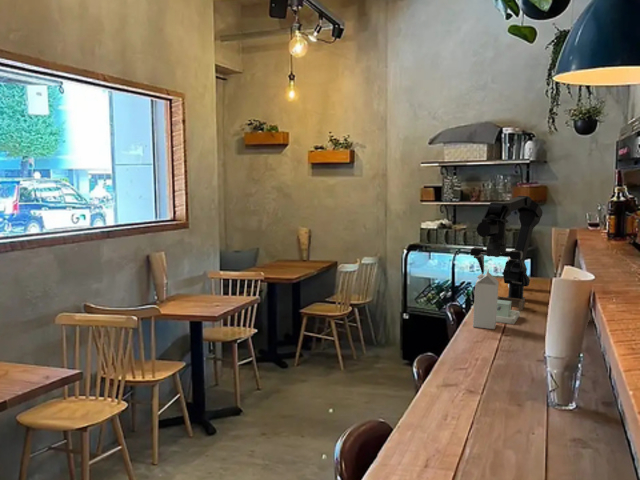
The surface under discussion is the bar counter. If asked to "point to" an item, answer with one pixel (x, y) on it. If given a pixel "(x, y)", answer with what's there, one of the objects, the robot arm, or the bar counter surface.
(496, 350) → the bar counter surface
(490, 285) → the milk carton
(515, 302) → the dock
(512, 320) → the tray
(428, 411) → the bar counter surface
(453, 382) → the bar counter surface
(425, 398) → the bar counter surface
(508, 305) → the block with peg handle
